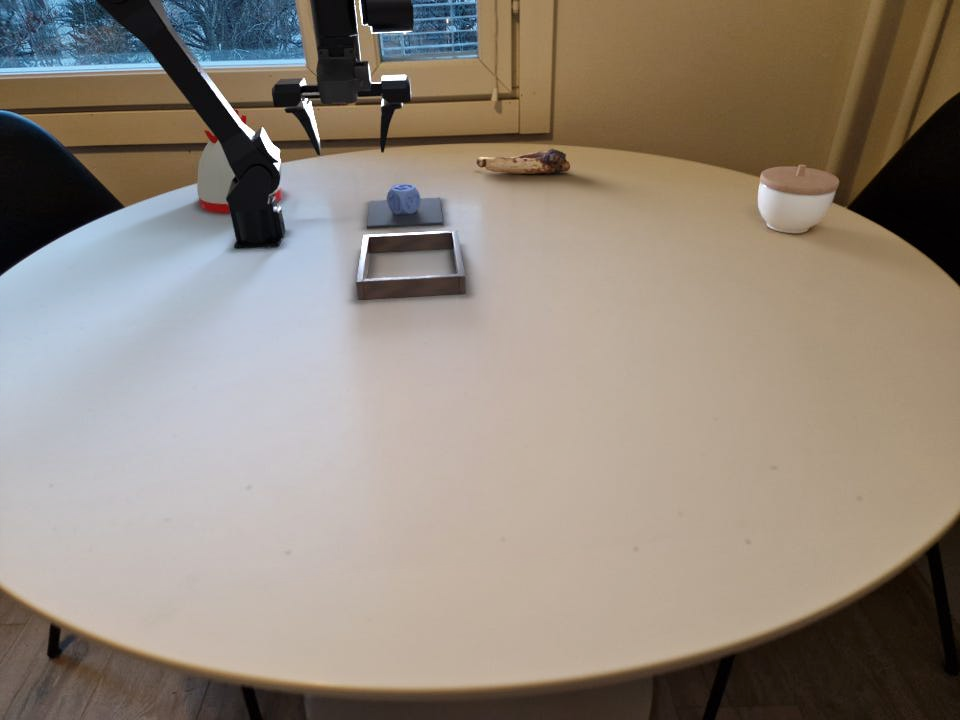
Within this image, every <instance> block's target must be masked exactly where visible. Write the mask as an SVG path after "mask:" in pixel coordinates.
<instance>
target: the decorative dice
mask: <svg viewBox="0 0 960 720" xmlns="http://www.w3.org/2000/svg"><path fill="white" fill-rule="evenodd" d="M421 199H422V198H421V194H420V192H419V190H418V189H417V187H415V185H413V184H411V183H399V184H394V185H392V186H391V187H390V188H389V189H388V191H387V194H386V200H387V203H388V206H389V208H390V210H391V211H392V212H393V213H395V214H397V215H410V214H413V213H415V212H416V211H417V210H418V208H419V206H420V200H421Z"/></svg>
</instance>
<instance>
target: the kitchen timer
mask: <svg viewBox="0 0 960 720" xmlns="http://www.w3.org/2000/svg"><path fill="white" fill-rule="evenodd" d="M232 109H233V110H234V111H235V113H236V114H237V115H238V117H239V118H240V120H241V121H242V122H243V123H244V124H245V125H246V126H247V115H244V114H242V115H241V117H240V114H239V110H238V109H235V108H232ZM204 133H205V135H206V137H207V139H208V140H209V141H208V142H207V144H206V145H205V147H204V148H203V151H202V153H201V156H200V159H199V161H198V167H197V180H196V181H197V182H196V186H197V187H196V189H197V195H198V196H197V197H198V200H199V204H200V207H201V209H202V210H205V211H206V212H210V213H215V214H230V211H229V206H228V205H229V204H228V202H227V201H226V197H227V194H228V190H229V187H230V184H231V181H232V179H233V178H234V177H235V174H234V173H233V171H232V169H231V167H230V165H229V163H228V161H227V158H226V156H225V153H224V151H223V149H222V146H221V144H220V142H219V140H218V139H217V138H216V136H215V135H214V134H213V133H212V132H211V131H209V130H205V129H204ZM269 196H270V197H271V196H275V198H276V203H278V202H279V201H281V200H282V197H283V192H282V187H281V183H280V184H279V186H278V188H277V189H276V190H275V191H274V192H273V193H272V194H269Z"/></svg>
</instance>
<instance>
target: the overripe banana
mask: <svg viewBox="0 0 960 720" xmlns="http://www.w3.org/2000/svg"><path fill="white" fill-rule="evenodd" d="M566 157H567V153H565V152H563V151H560V150H558V149H554V148H551V149H548V150H540V151H534V152H530V153H523V154H521V155H517V156H514V157H513V156H512V157H511V156H510V157H509V156H508V157H505V156H496V157H487V156H480V157H479V156H478V157H477V159H476V165H477V166H478V167H479V168H485V169H486V170H487V171H490V172H492V173H493V172H494V173H508V174H515V175H516V174H518V175H522V174H526V175H527V174H529V175H530V174H531V175H539V174H541V175H542V174H548V175H554V174H559V173H564V172H568V171H570V169H571V164H570V161H568V160H567V158H566Z"/></svg>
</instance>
